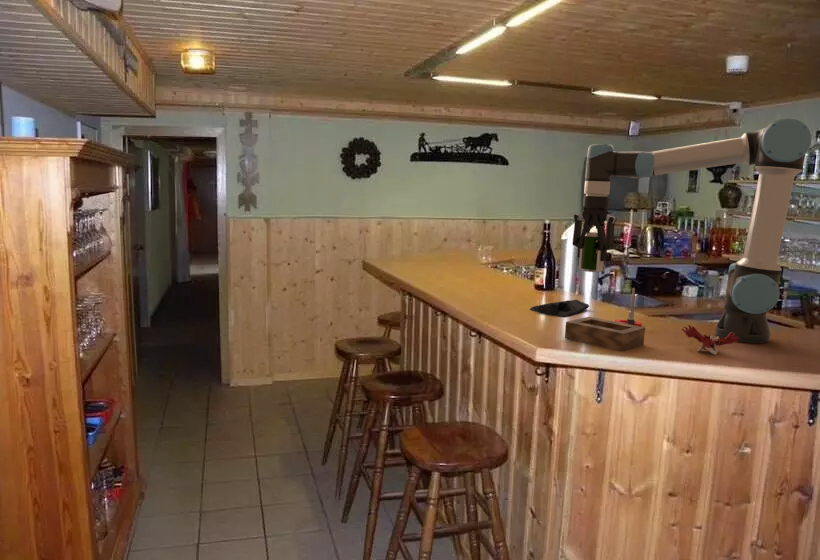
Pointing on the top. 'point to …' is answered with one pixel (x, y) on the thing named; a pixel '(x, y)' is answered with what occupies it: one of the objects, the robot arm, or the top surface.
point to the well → (605, 333)
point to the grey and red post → (631, 313)
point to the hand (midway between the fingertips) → (590, 269)
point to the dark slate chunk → (561, 308)
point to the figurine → (710, 339)
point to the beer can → (590, 251)
